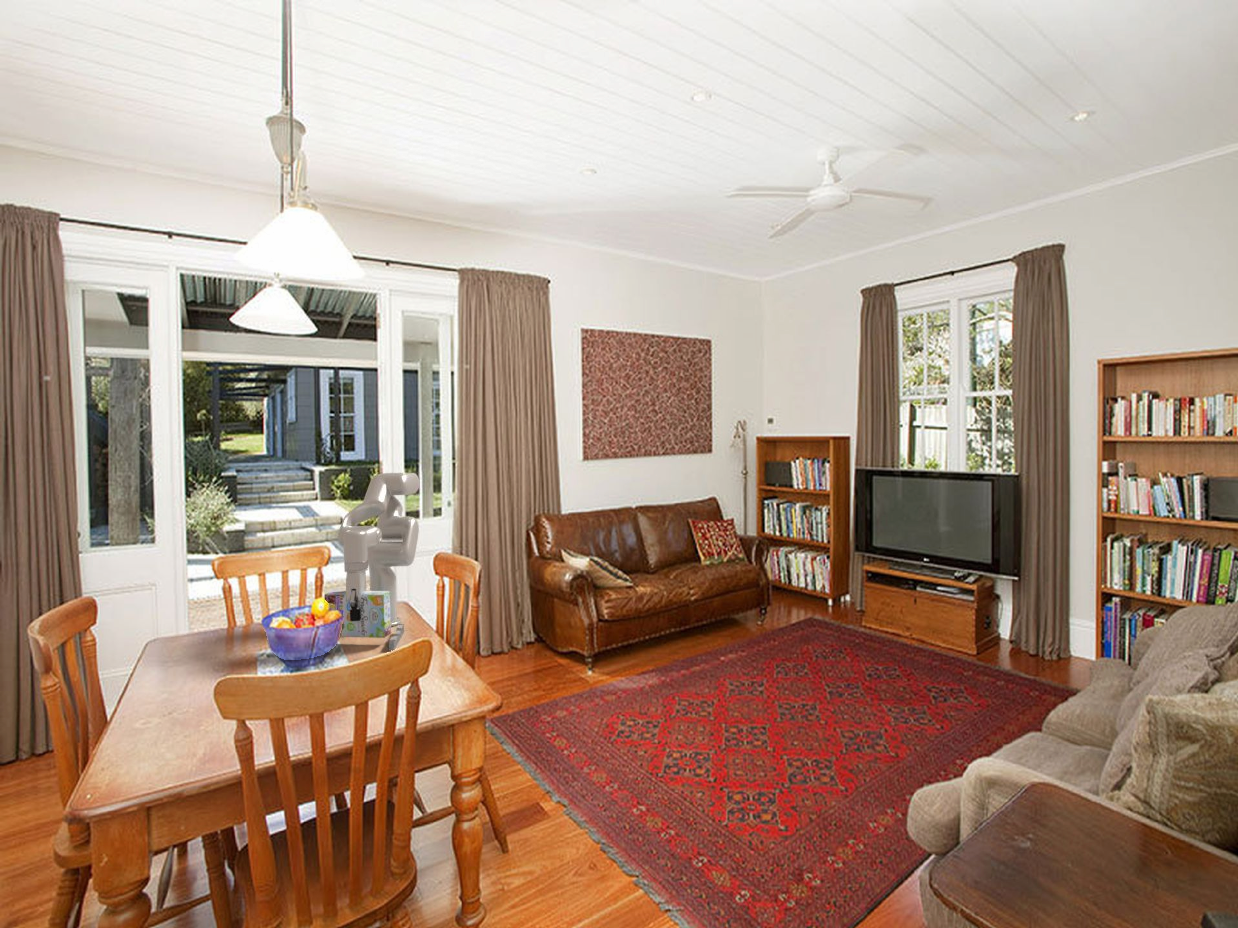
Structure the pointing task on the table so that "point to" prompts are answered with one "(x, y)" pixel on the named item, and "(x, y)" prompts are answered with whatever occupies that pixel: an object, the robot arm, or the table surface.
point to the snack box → (364, 614)
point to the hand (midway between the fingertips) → (358, 617)
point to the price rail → (396, 637)
